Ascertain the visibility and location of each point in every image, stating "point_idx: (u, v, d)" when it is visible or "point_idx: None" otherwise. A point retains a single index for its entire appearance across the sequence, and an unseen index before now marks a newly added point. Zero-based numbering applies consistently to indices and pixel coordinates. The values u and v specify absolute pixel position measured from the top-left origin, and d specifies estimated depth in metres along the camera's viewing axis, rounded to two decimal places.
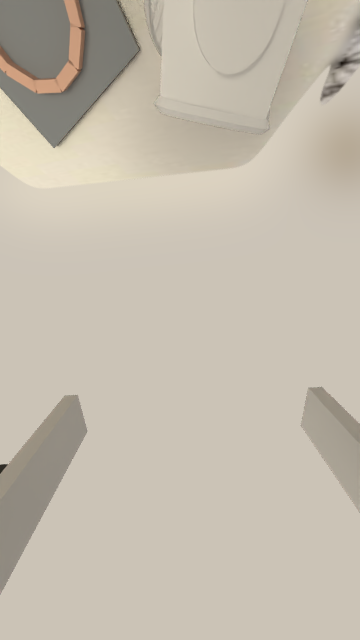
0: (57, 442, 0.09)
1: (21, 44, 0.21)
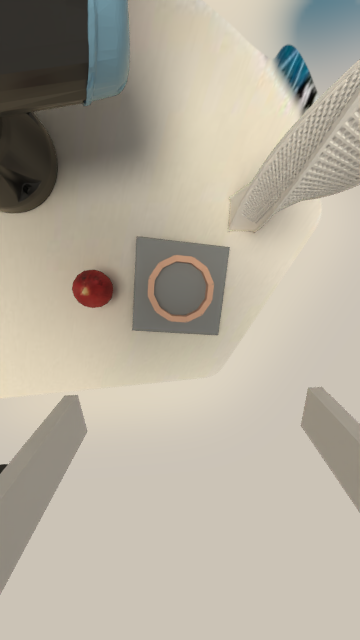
0: (57, 442, 0.09)
1: (185, 304, 0.36)
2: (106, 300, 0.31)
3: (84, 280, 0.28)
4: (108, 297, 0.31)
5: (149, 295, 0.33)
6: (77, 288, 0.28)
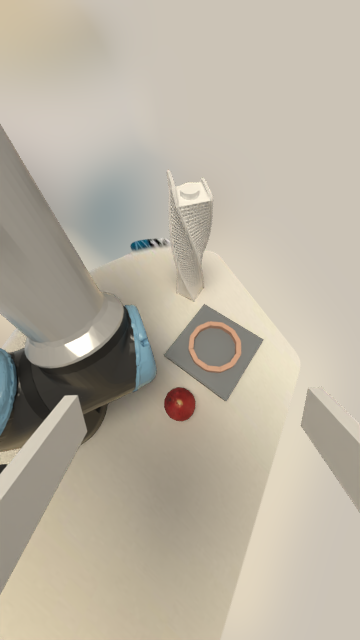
0: (57, 442, 0.09)
1: (226, 349, 0.44)
2: (193, 398, 0.37)
3: (171, 399, 0.35)
4: (192, 395, 0.37)
5: (206, 368, 0.41)
6: (173, 408, 0.34)
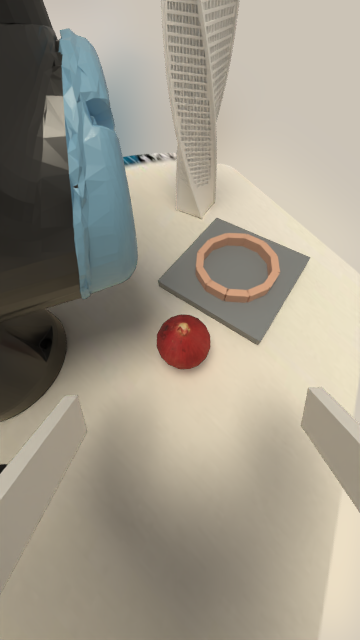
0: (57, 442, 0.09)
1: (254, 271, 0.28)
2: (207, 330, 0.21)
3: (169, 326, 0.19)
4: (204, 325, 0.21)
5: (226, 293, 0.25)
6: (172, 340, 0.19)
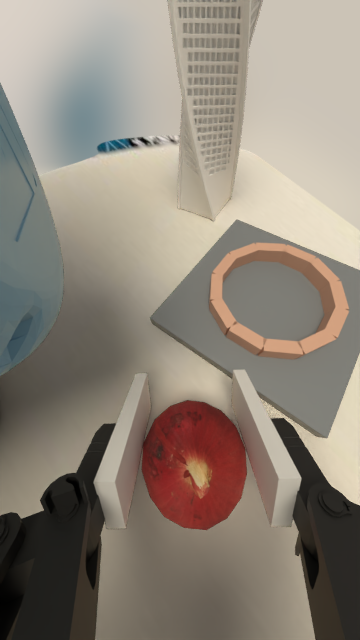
0: (141, 409, 0.11)
1: (301, 304, 0.18)
2: (240, 439, 0.11)
3: (166, 453, 0.09)
4: (235, 428, 0.11)
5: (263, 346, 0.15)
6: (173, 494, 0.08)
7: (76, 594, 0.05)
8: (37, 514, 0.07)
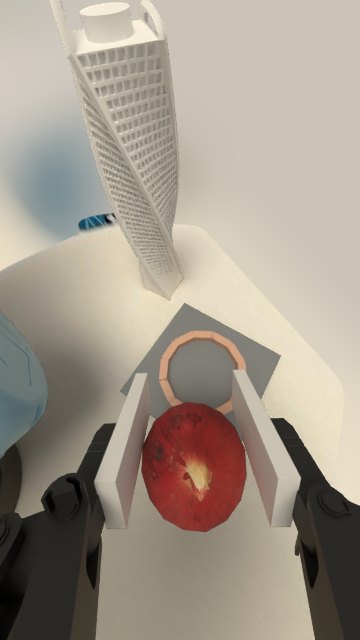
0: (141, 409, 0.11)
1: (222, 376, 0.27)
2: (239, 440, 0.11)
3: (165, 455, 0.09)
4: (234, 429, 0.11)
5: None
6: (172, 496, 0.08)
7: (76, 594, 0.05)
8: (38, 514, 0.07)
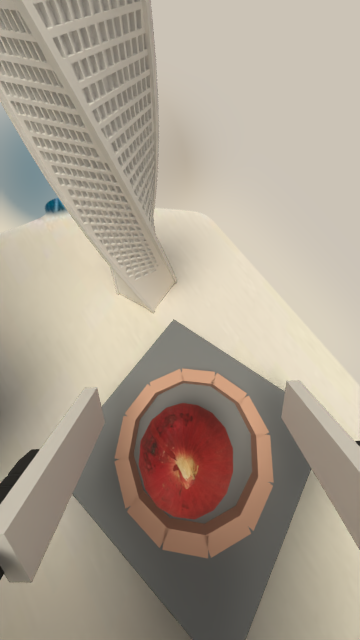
0: (81, 430, 0.10)
1: None
2: (228, 439, 0.12)
3: (159, 449, 0.10)
4: (223, 429, 0.12)
5: (162, 542, 0.12)
6: (164, 485, 0.10)
7: None
8: None
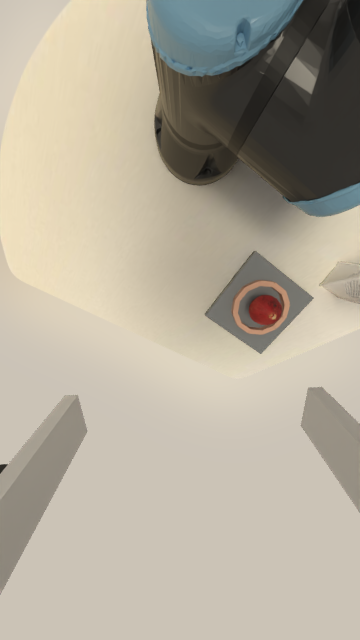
0: (57, 442, 0.09)
1: None
2: None
3: (275, 307, 0.35)
4: None
5: (236, 299, 0.40)
6: (266, 309, 0.35)
7: None
8: None
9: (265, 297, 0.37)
